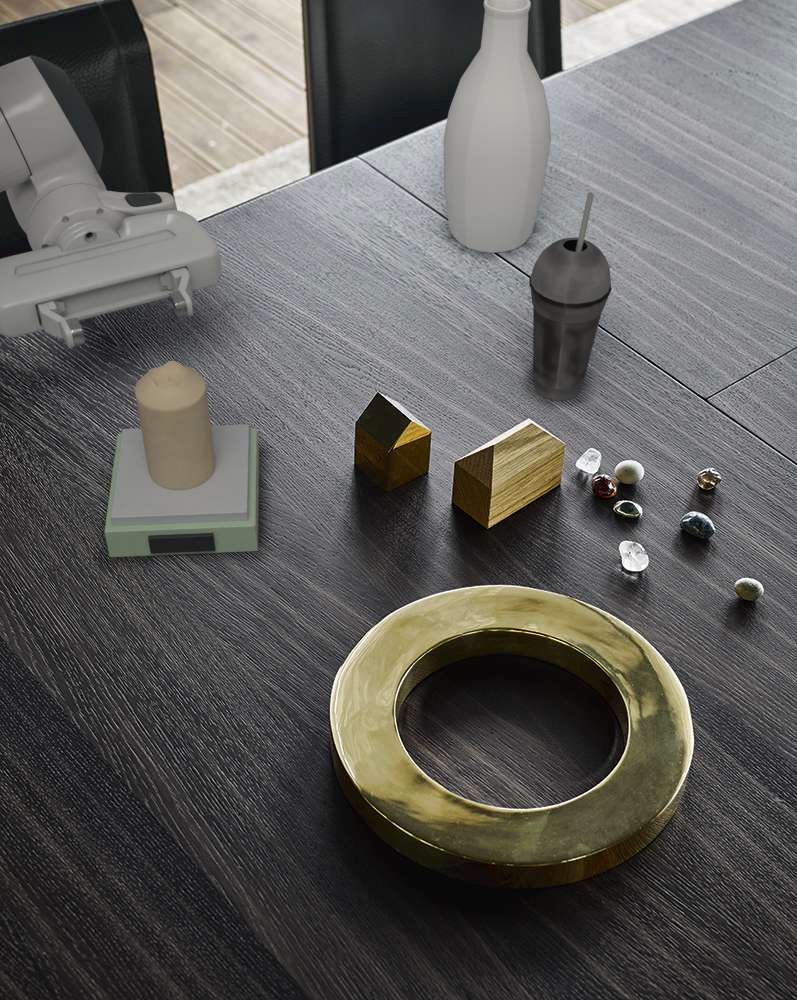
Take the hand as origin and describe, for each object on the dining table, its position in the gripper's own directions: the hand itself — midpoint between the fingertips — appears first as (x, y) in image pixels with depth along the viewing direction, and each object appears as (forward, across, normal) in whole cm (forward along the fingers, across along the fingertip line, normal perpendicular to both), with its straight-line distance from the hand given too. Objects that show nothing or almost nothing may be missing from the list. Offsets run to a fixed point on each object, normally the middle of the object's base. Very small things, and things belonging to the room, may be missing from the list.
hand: (131, 325), depth 105 cm
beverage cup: (+10, +37, +12) cm, 40 cm away
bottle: (-16, +44, +12) cm, 48 cm away
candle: (+10, 0, +8) cm, 13 cm away
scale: (+10, 0, +12) cm, 16 cm away
